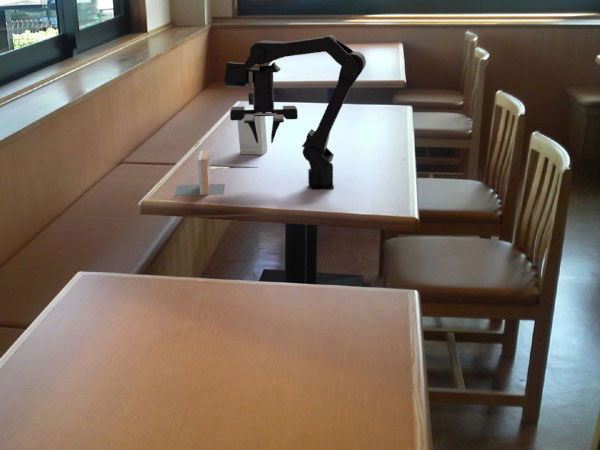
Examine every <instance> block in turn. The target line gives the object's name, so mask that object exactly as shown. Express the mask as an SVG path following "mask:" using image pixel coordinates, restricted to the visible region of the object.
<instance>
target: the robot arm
mask: <svg viewBox="0 0 600 450" xmlns="http://www.w3.org/2000/svg"><path fill="white" fill-rule="evenodd" d="M317 53H327V54H328V55H329V56H330V57H331V58H332V59H333V60H334V61H335V62H336V63H337V64H338V65H340V71H339V74H338V78H337V84H336V86H335V88H334V90H333V92H332V95H331V98H330V99H329V101H328V104H327V106H326V109H325V110H324V113H323V114H322V117H321V119H320V122H319V124H318V125H317V128H316V130H314V129H312V128H311V129H309V131H308V132H307V134H306V139H305V141H304V143H303V144H302V145H301V147H302V155H303V158H304V159H305V160H306V161H307V162H308V164H309V166H310V168H308V170H307V171H308V172H307V173H308V174H307V179H308V180H307V181H308V185H309V186H310V189H311V190H319V189H321V190H324V189H327V190H328V189H329V190H330V189H334V188H335V186H334V165H333V162H332V161H333V159H334V156H335V155H334V153H333V152H332V151H331V150H330V149H329V148H328V143H329V140H330V135H331V130H332V128H333V126H334V125H335V123H336V120H337V118H338V116H339V113H340V111H341V108H342V107H343V105H344V102H345V101H346V98H347V96H348V95H349V91H350V90H351V87H353V85H354V83H355V82H356V81H357V79H358V78H359V76H360V75H361V73H362V71H363V70H364V69H365V67H366V65H367V60H366V56H365V55H364V54H363V53H362V52H360V51H354V50H353V49H351V48H350V47H349V46H347V45H346V44H345V43H343V42H341V41H340V40H339V39H337V37H335V36H334V35H332V34H331V35H330V34H328V35H326V36H321V37H313V38H306V39H305V38H304V39H296V40H290V41H279V40H267V39H266V40H265V39H263V40H261V41H260V40H259V41H258V42H256V43H253V44H252V45H251V48H250V50H249V56H248V58H247V59H246V60H245V61H244V62H235V61H228V62H226V68H225V73H224V74H225V75H224V84H225V86H226V87H227V88H248V87H249V85H251V84H252V92H248V96H247V97H248V105H249V106H253V107H252V108H254V110H245V108H246V107H245V106H232V107H231V108H230V110H229V115H230V121H238V120H242V119H243V118H244V123H248V124H249V126H250V128H251V130H252V132H253V135H254V137H255V140H256V143H258V135H257V129H256V122H255V117H254V116H265V117H272V124H271V125H272V126H271V135H270V136H271V137H270V143H271V144H273V143H274V140H275V137H276V134H277V131H278V129H279V126H280V125H281V123H284V122H285V119H286V120H297V119H298V116H299V115H298V108H297V107H296V106H295V105H282V108H275V100H274V99H275V98H274V97H275V95H274V93H275V92H274V73H279V72H280V71H281V67H279V66H278V64H277V63H276V62H275V61H277V60H280V59H283V58H285V57H293V56H302V55H309V54H317ZM270 62H272V63H271V64H269V65H268V64H267V63H270ZM256 65H259V67H255V66H256Z"/></svg>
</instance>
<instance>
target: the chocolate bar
mask: <svg viewBox="0 0 600 450" xmlns="http://www.w3.org/2000/svg"><path fill="white" fill-rule="evenodd" d="M256 168H259V166H242V165H241V166H238V165H215V164H214V165H213V164H210V170H216V169H218V170H219V169H220V170H221V169H256Z"/></svg>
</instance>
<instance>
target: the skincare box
mask: <svg viewBox="0 0 600 450" xmlns="http://www.w3.org/2000/svg"><path fill="white" fill-rule="evenodd" d="M244 108H245V110H254V108H253V107H244ZM254 117H255V122H256V129H257V135H258V143H256V140H255V137H254V135H253V132H252V130H251V128H250V126H249V124H248V123H244V118H243V119H242V120H237V130H238V132H237V133H238V141H239V154H240V155H255V156H256V155H260V156H261V155H264V154H265V153H267V151H268V140H267V129H266V127H267V125H266V124H267V123H266V116H254Z"/></svg>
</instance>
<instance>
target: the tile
mask: <svg viewBox="0 0 600 450" xmlns="http://www.w3.org/2000/svg"><path fill="white" fill-rule="evenodd" d="M210 165H211V163H210V150H200V152H199V154H198V157H197V166H198V167H197V171H198V181H199V182H198V185H199V187H200V195H199V196H206V195H207V196H208V195H209V191H210V186H211V184H212V179H211V169H210ZM209 196H210V195H209Z"/></svg>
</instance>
